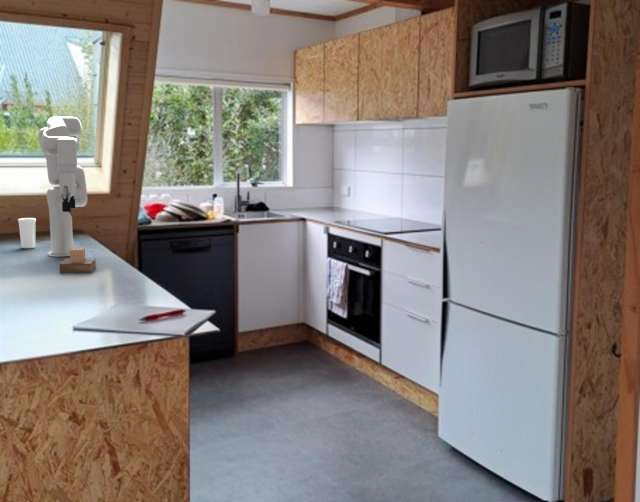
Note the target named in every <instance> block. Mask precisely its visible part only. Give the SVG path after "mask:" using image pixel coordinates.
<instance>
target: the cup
mask: <svg viewBox="0 0 640 502" xmlns="http://www.w3.org/2000/svg"><path fill="white" fill-rule="evenodd" d="M17 222H18V226H19V236H20V245H21V248H22V249H34V248H36V222H37V219H36V218H35V217H22V218H18V219H17Z"/></svg>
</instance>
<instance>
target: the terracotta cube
mask: <svg viewBox="0 0 640 502" xmlns="http://www.w3.org/2000/svg"><path fill="white" fill-rule="evenodd" d="M69 258H70V262H84V261H85V258H86V248H85V247H73V248H72V249H71V250H70V256H69Z"/></svg>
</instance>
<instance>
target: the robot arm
mask: <svg viewBox="0 0 640 502" xmlns="http://www.w3.org/2000/svg"><path fill="white" fill-rule="evenodd" d="M82 128H83V127H82V123H81V121H80V119H79V118H78V117H74V116H59V115H58V116H52V117H50V118H48V120H47V123H46V127H43V128H41V129H40V130H39V131H38V142H39V146H40V149H41V151H42V153H43V155H44V157H45V160H46V161H45V162H46V169H47V179H48V181H49V184H51V186H53V187H49V188H48V189H47V191H46V201H47V206H48V211H49V212H48V213H49V230H50V231H49V232H50V233H49V234H50V249H51V250H50V251H48V252H47V255H48V256H49V257H56V258H58V257H59V258H61V257H62V258H63V257H64V258H65V257H70V250H71V249H72V248H74V237H73V235H74V234H73V217H72V215H71V213H70V212H71V211H72V209H75V208H82V207H85V206H87V204H88V191H87V183H86V182H87V181H86V175H85V171H84V169H83V167H82V166H80V165H78V154H77V153H78V151H79V149H80V145H79V143H80V140H81V139H80V138H81V135H82V133H83V130H82Z"/></svg>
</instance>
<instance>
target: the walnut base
mask: <svg viewBox="0 0 640 502" xmlns="http://www.w3.org/2000/svg"><path fill="white" fill-rule="evenodd" d="M96 261H97V260H96V258H95V257H91V258H88V257H87V258H86V257H85V261H84V262H70V257H69V258H67V257H66V258H65V259H63V260H62V261H61V262H60V263H59V265H58V266H59V274H60V273H74V274H92V273H93V271H94V270H96V268H97V262H96Z"/></svg>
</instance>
